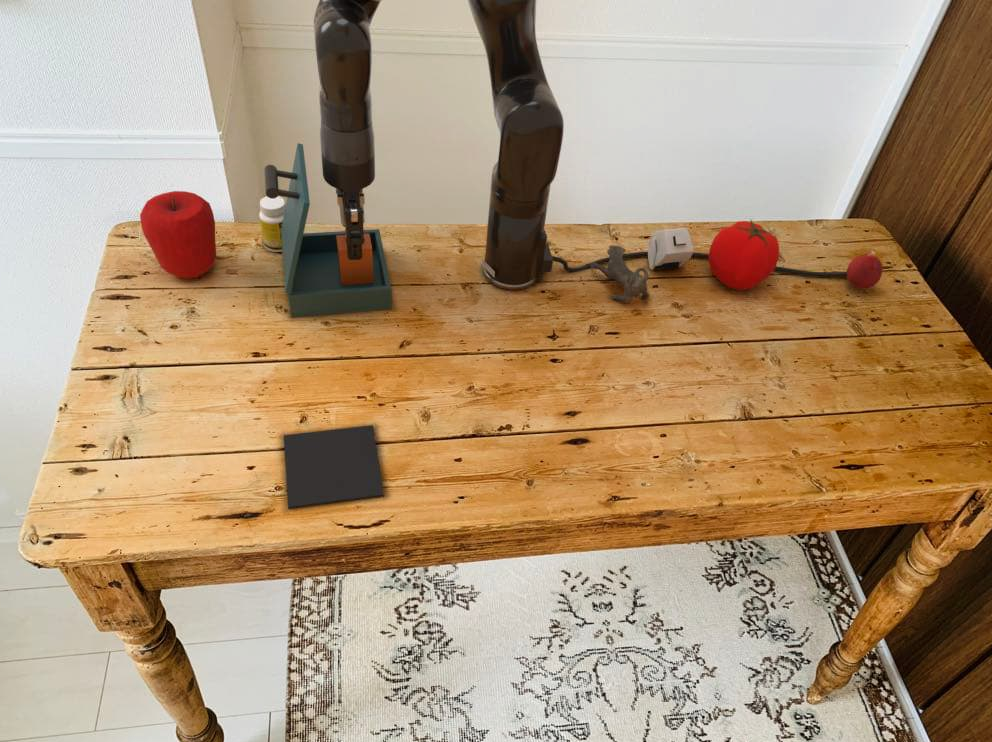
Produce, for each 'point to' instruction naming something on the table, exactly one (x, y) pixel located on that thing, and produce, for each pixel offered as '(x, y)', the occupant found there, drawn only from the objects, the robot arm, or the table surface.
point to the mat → (331, 466)
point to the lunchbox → (336, 279)
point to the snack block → (355, 263)
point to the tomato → (743, 255)
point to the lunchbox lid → (291, 211)
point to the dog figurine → (624, 275)
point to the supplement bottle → (272, 222)
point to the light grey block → (669, 248)
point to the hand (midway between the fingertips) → (352, 241)
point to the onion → (864, 271)
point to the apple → (180, 232)
